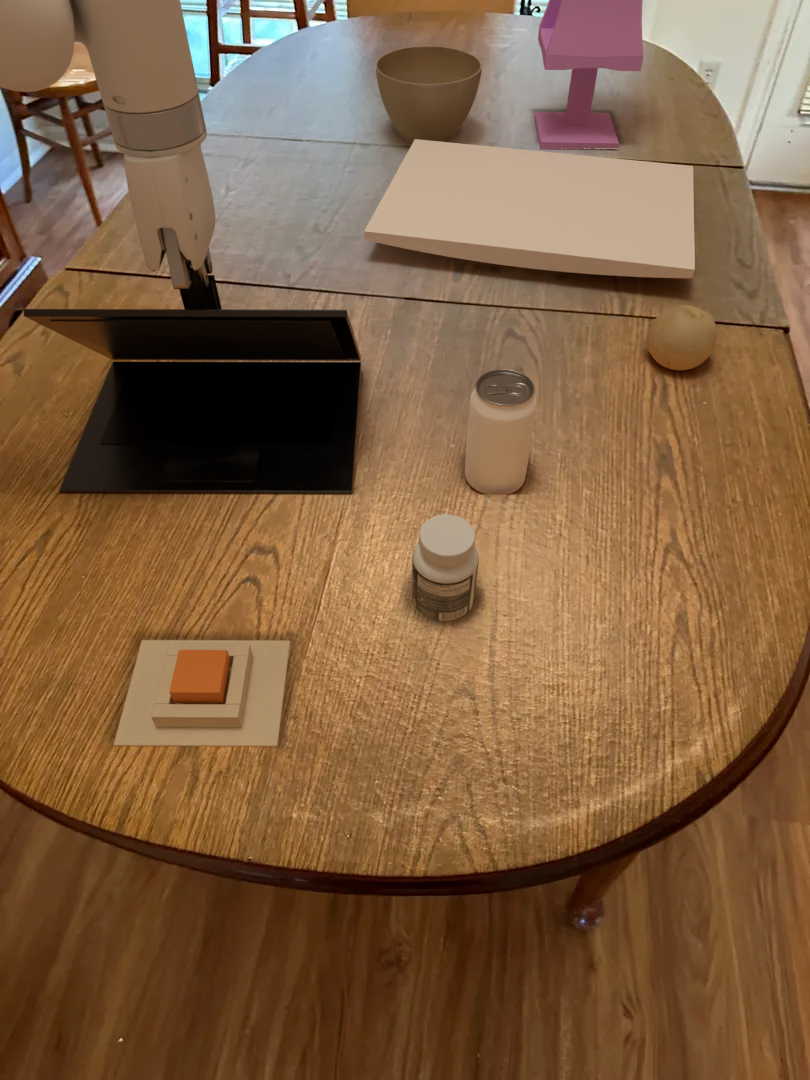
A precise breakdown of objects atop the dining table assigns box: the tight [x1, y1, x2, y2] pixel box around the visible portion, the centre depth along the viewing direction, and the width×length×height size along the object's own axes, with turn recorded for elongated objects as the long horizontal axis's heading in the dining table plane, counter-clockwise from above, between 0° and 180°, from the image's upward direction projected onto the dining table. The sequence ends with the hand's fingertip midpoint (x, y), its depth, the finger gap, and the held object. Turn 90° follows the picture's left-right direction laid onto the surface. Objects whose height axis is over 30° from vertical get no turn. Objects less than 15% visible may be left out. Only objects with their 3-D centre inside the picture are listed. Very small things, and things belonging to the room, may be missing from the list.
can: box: [464, 368, 537, 496], centre depth 80 cm, size 6×6×12 cm
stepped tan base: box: [113, 639, 291, 748], centre depth 65 cm, size 13×10×3 cm
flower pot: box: [375, 45, 483, 145], centre depth 138 cm, size 18×18×12 cm
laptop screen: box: [23, 308, 362, 362], centre depth 84 cm, size 22×30×1 cm
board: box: [363, 139, 696, 279], centre depth 119 cm, size 45×32×5 cm
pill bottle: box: [411, 513, 480, 622], centre depth 69 cm, size 6×6×10 cm
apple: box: [646, 303, 718, 371], centre depth 95 cm, size 8×8×8 cm
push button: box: [169, 650, 231, 703], centre depth 64 cm, size 4×4×2 cm
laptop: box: [58, 360, 363, 496], centre depth 88 cm, size 22×30×2 cm
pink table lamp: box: [534, 0, 644, 150], centre depth 130 cm, size 16×16×35 cm
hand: (205, 315), depth 78 cm, fingers closed
